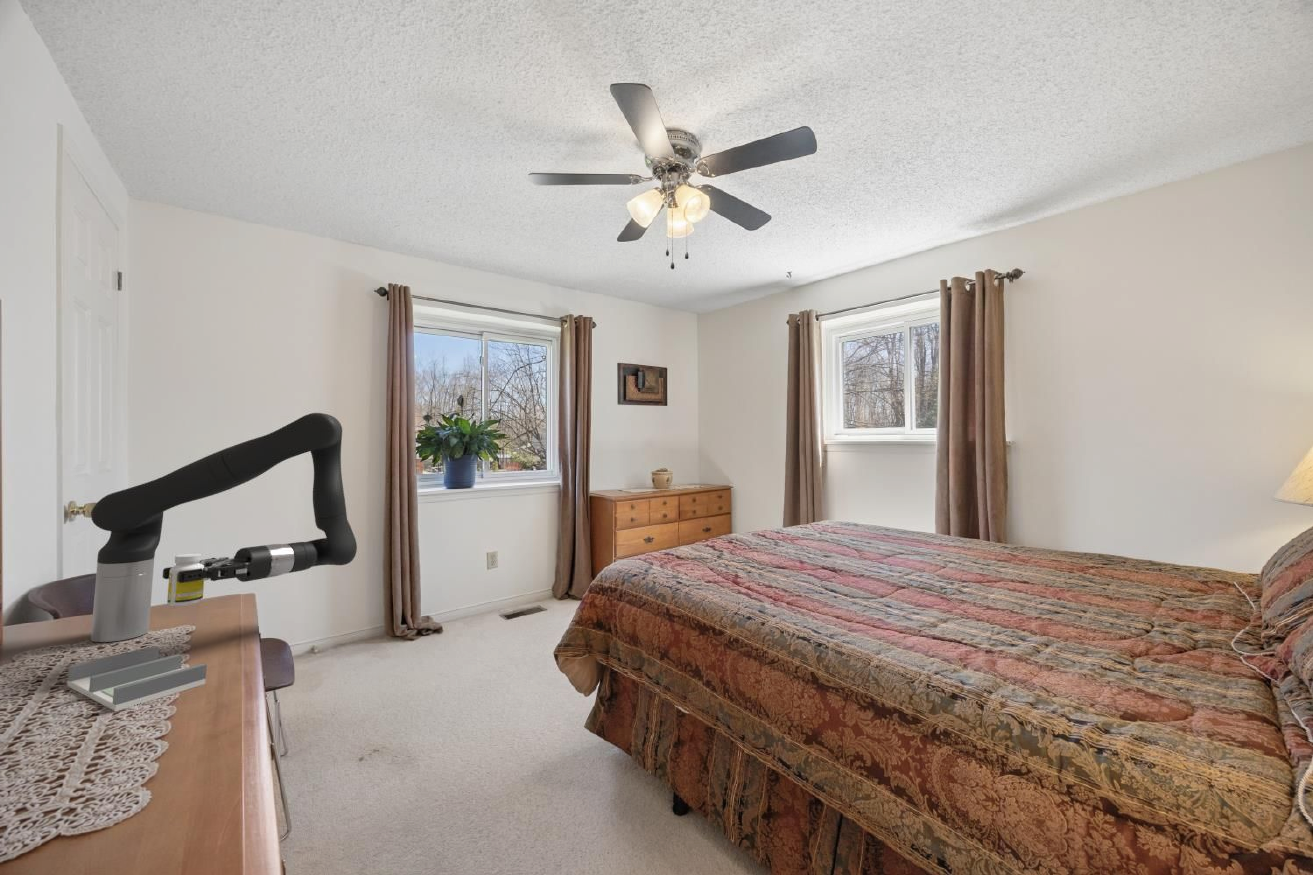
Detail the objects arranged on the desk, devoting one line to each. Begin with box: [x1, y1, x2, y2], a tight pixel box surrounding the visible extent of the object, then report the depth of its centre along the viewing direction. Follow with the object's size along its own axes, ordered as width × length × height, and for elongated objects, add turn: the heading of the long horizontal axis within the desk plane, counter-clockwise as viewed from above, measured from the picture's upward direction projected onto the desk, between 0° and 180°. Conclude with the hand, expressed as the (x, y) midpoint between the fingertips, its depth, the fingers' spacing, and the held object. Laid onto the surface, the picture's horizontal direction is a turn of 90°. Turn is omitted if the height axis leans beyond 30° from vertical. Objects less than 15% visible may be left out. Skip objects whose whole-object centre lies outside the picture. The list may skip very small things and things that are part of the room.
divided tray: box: [66, 645, 207, 712], centre depth 94 cm, size 20×12×4 cm, turn 64°
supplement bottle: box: [166, 552, 205, 607], centre depth 106 cm, size 5×5×10 cm
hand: (171, 575), depth 103 cm, fingers closed on supplement bottle, 5 cm apart
